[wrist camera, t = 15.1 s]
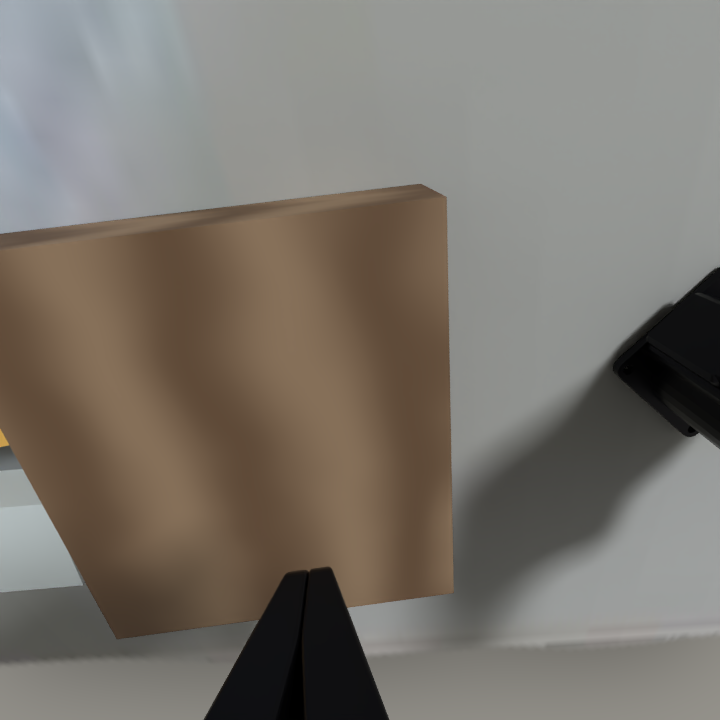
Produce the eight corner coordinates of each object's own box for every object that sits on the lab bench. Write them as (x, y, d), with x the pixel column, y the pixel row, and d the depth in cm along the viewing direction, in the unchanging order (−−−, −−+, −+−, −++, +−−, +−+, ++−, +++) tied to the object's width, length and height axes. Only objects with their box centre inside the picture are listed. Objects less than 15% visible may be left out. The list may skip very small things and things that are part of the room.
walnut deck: (421, 184, 17) (446, 196, 14) (435, 528, 25) (453, 592, 22) (-6, 234, 17) (-93, 261, 13) (146, 567, 25) (116, 639, 22)
